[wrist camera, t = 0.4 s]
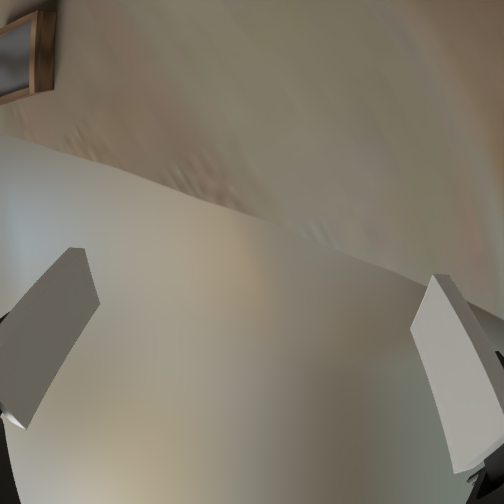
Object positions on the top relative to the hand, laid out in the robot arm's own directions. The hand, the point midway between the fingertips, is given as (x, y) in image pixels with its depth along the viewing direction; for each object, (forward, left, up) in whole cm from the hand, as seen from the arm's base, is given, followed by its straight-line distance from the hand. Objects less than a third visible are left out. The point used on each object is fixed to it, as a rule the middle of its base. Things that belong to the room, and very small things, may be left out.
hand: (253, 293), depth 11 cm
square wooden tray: (-15, -36, -27) cm, 47 cm away
